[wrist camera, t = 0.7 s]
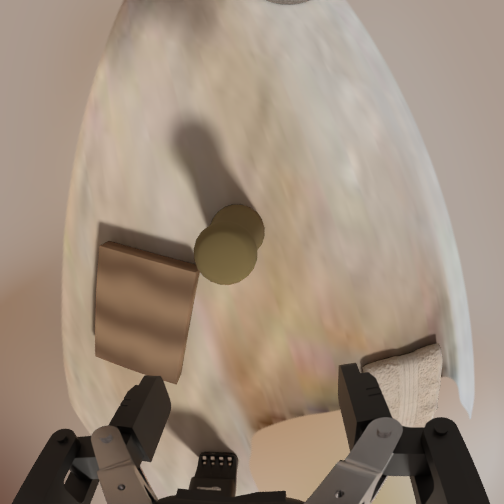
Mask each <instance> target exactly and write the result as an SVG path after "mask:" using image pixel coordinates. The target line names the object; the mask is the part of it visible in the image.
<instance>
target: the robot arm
mask: <svg viewBox="0 0 504 504" xmlns="http://www.w3.org/2000/svg"><path fill="white" fill-rule="evenodd" d="M267 1H270V2H273V3H278V4H289V5H291V4H299V3H303V2H307V1H309V0H267ZM338 399H339V405H340V409H341V413H342V417H343V422H344V426H345V430H346V434H347V438H348V444H349V448H350V453H349V455H348V456H347V457H346V459H345V460H344V461H343V460H340V461H339V462H338V463H337V464H336V465H335V466H334V467H333V469H332V470H331V471H330V473H329V474H328V475H327V476H326V478H325V479H324V480H323V481H322V483H321V484H320V485H319V486H318V488H317V489H316V490H315V491H314V492H313V494H312V495H311V496H310V497H309V498H308V499H307V501H306V502H303V501H300V500H297V499H292V498H287V497H286V491H274V492H256V493H251V494H246V495H241V496H236V497H224V496H220V495H217V494H213V493H209V492H205V491H199V490H187V489H178V490H177V494H176V495H174V496H168V497H165V498H162V499H159V500H158V498H157V497H156V495H155V493H154V492H153V490H152V488H151V486H150V484H149V482H148V480H147V478H146V476H145V474H144V472H143V470H142V468H141V467H140V464H141V462H142V461H147V462H151V461H152V458H153V456H154V453H155V450H156V448H157V445H158V443H159V440H160V437H161V435H162V432H163V429H164V427H165V424H166V422H167V419H168V416H169V414H170V411H171V402H170V398H169V395H168V393H167V390H166V387H165V384H164V382H163V379H162V377H161V376H150V375H145V376H144V377H143V379H142V380H141V382H140V384H139V385H135V386H134V387H133V388H131V389H130V390H129V391H128V392H127V394H126V396H125V397H124V400H123V401H122V403H121V404H120V405H121V406H119V408H118V410H117V411H116V413H115V415H114V417H113V418H112V420H111V422H110V424H109V425H108V426H102V427H100V428H98V429H97V430H95V431H94V432H93V434H92V436H85V437H77V436H76V435H75V433H74V432H73V431H72V430H70V429H61V430H58V431H56V432H55V433H54V434H52V436H51V437H50V439H49V440H48V442H47V444H46V445H45V447H44V449H43V450H42V452H41V454H40V455H39V457H38V459H37V460H36V462H35V464H34V465H33V467H32V469H31V470H30V472H29V474H28V476H27V477H26V479H25V481H24V483H23V485H22V486H21V488H20V490H19V492H18V493H17V495H16V497H15V499H14V501H13V503H12V504H90V503H91V500H92V498H93V495H94V493H95V490H96V488H97V485H98V482H99V481H100V484H101V487H102V490H103V493H104V496H105V499H106V501H107V504H371V503H372V502H373V500H374V499H375V497H376V496H377V494H378V492H379V491H380V489H381V487H382V486H383V484H384V482H385V481H386V479H387V477H388V476H410V479H411V483H412V487H413V491H414V495H415V499H416V504H490V502H489V500H488V497H487V494H486V492H485V489H484V487H483V484H482V482H481V479H480V477H479V474H478V472H477V469H476V467H475V465H474V462H473V460H472V458H471V456H470V453H469V451H468V449H467V447H466V444H465V442H464V440H463V438H462V436H461V434H460V432H459V430H458V427H457V425H456V424H455V423H454V422H453V421H452V420H450V419H448V418H442V417H441V418H434V419H432V420H430V421H428V422H427V423H426V425H425V427H405V426H402V425H401V424H400V422H398V421H397V420H395V419H393V418H392V415H391V413H390V411H389V408H388V406H387V403H386V401H385V398H384V396H383V394H382V391H381V389H380V388H379V384H378V382H377V379H376V378H375V377H374V376H373V375H372V374H370V373H369V372H365V373H360V372H359V369H358V367H357V364H356V363H351V364H344V365H339V376H338ZM68 470H70V471H71V472H70V474H69V476H68V478H67V480H66V482H65V484H64V478H65V476H66V474H67V472H68Z"/></svg>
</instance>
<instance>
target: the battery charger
mask: <svg viewBox="0 0 504 504" xmlns="http://www.w3.org/2000/svg"><path fill="white" fill-rule="evenodd" d="M238 465H239V460H238V458H237V457H236V456H235V455H234V454H231V453H210V452H204V453H201V454H200V456H199V461H198V466H197V470H196V473H195V476H194V477H192V478H191V482H190V486H189V490H199V491H205V492H209V493H213V494H217V495H220V496H224V497H236V488H237V472H238Z"/></svg>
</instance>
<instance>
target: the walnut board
mask: <svg viewBox="0 0 504 504" xmlns="http://www.w3.org/2000/svg"><path fill="white" fill-rule="evenodd" d="M199 273H200V271H199V270H198V268H197V266H196V265H195V264H191V263H188V262H184V261H180V260H176V259H173V258H169V257H165V256H162V255H158V254H154V253H151V252H147V251H143V250H140V249H136V248H132V247H129V246H125V245H122V244H118V243H115V242H111V241H108V242H106V243H104V244H102V245H100V246H99V257H98V270H97V286H96V311H95V356H96V357H99V358H101V359H104V360H106V361H109V362H112V363H114V364H117V365H120V366H122V367H125V368H128V369H131V370H134V371H136V372H139V373H142V374H145V375H150V376H161V377H162V379H163V380H164V381H167V382H170V383H173V384H177V382H178V380H179V378H180V375H181V372H182V365H183V359H184V354H185V348H186V342H187V336H188V331H189V325H190V320H191V314H192V309H193V304H194V298H195V293H196V288H197V283H198V278H199Z"/></svg>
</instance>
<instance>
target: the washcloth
mask: <svg viewBox="0 0 504 504" xmlns="http://www.w3.org/2000/svg"><path fill="white" fill-rule="evenodd" d="M442 361H443V360H442V353H441V347H440V345H439V344H438V343H437V344H432V345H428V346H425V347H423V348H420V349H417V350H415V351H414V352H412V353H409V354H405V355H401V356H398V357H397V356H394V357H390V358H388V359H384V360H380V361H376V362H373V363H370V364H367V365H365V366H364V367H362V368H363V373H365V372H369V373H370V374H372V375H373V376H374V377H375V378H376V379H377V382H378V384H379V388H380V389H381V391H382V394H383V396H384V398H385V401H386V403H387V406H388V408H389V411H390V413H391V415H392V418H393V419H395V420H397V421H398V422H400V424H401V425H402V426H405V427H425V425H426V423H427V422H428V421H430V420H432V419H433V415H434V413H435V411H436V410H437V408H438V395H439V390H440V382H441V381H440V378H441V369H442Z"/></svg>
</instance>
